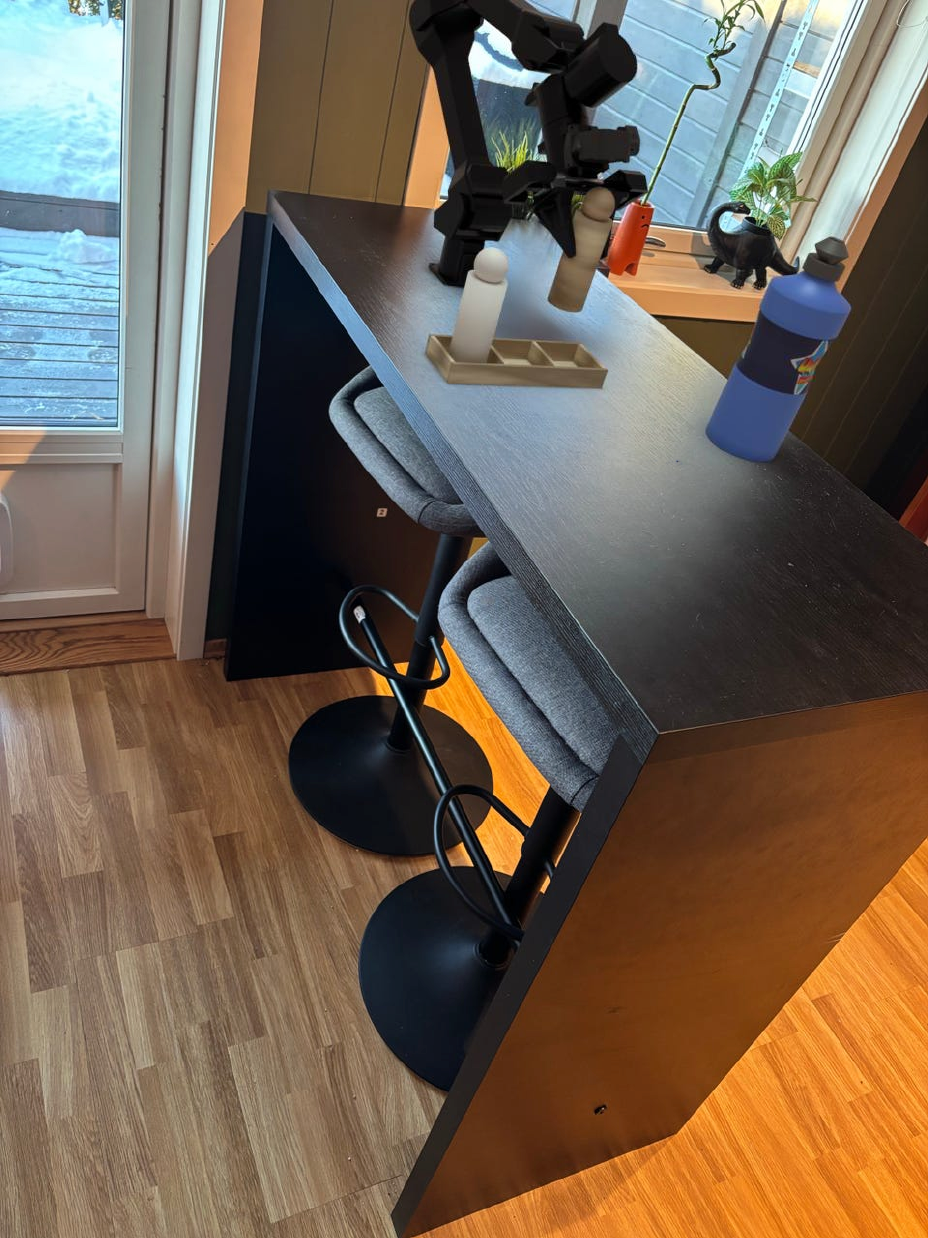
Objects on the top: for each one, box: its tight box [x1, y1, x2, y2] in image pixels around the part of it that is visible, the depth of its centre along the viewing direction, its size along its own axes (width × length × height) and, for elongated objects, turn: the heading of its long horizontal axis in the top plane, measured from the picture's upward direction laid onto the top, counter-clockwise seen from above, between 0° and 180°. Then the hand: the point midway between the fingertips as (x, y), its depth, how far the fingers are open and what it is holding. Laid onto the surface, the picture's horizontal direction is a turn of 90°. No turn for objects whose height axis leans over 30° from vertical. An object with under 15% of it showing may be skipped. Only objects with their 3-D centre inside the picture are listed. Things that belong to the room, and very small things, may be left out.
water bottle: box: [705, 236, 852, 463], centre depth 110 cm, size 9×9×25 cm
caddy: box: [424, 333, 609, 389], centre depth 115 cm, size 7×21×3 cm, turn 113°
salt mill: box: [449, 246, 509, 363], centre depth 108 cm, size 5×5×14 cm
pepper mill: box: [547, 187, 615, 314], centre depth 115 cm, size 5×5×14 cm
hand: (588, 257), depth 115 cm, fingers closed on pepper mill, 5 cm apart
